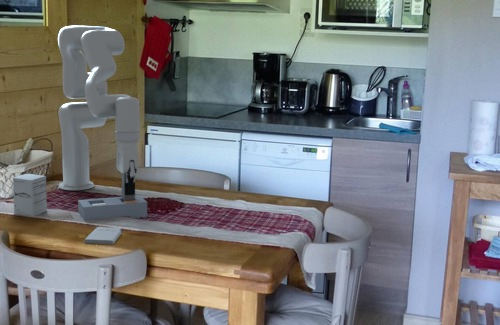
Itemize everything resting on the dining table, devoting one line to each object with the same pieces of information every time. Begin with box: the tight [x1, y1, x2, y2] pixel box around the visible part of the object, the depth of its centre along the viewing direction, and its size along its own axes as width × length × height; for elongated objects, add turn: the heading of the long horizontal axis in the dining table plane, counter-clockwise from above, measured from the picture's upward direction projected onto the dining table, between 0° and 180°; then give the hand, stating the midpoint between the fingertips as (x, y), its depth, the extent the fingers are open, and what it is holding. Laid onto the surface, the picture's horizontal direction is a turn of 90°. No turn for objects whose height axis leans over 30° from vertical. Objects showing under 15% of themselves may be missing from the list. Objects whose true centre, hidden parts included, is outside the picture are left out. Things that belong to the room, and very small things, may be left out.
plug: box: [121, 171, 136, 202], centre depth 213 cm, size 3×3×11 cm
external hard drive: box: [83, 226, 124, 245], centre depth 192 cm, size 2×8×12 cm
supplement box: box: [12, 173, 48, 217], centre depth 210 cm, size 7×7×13 cm
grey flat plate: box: [46, 211, 75, 222], centre depth 207 cm, size 8×7×1 cm
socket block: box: [77, 194, 148, 221], centre depth 212 cm, size 9×20×5 cm, turn 114°
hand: (128, 192), depth 213 cm, fingers closed on plug, 3 cm apart
